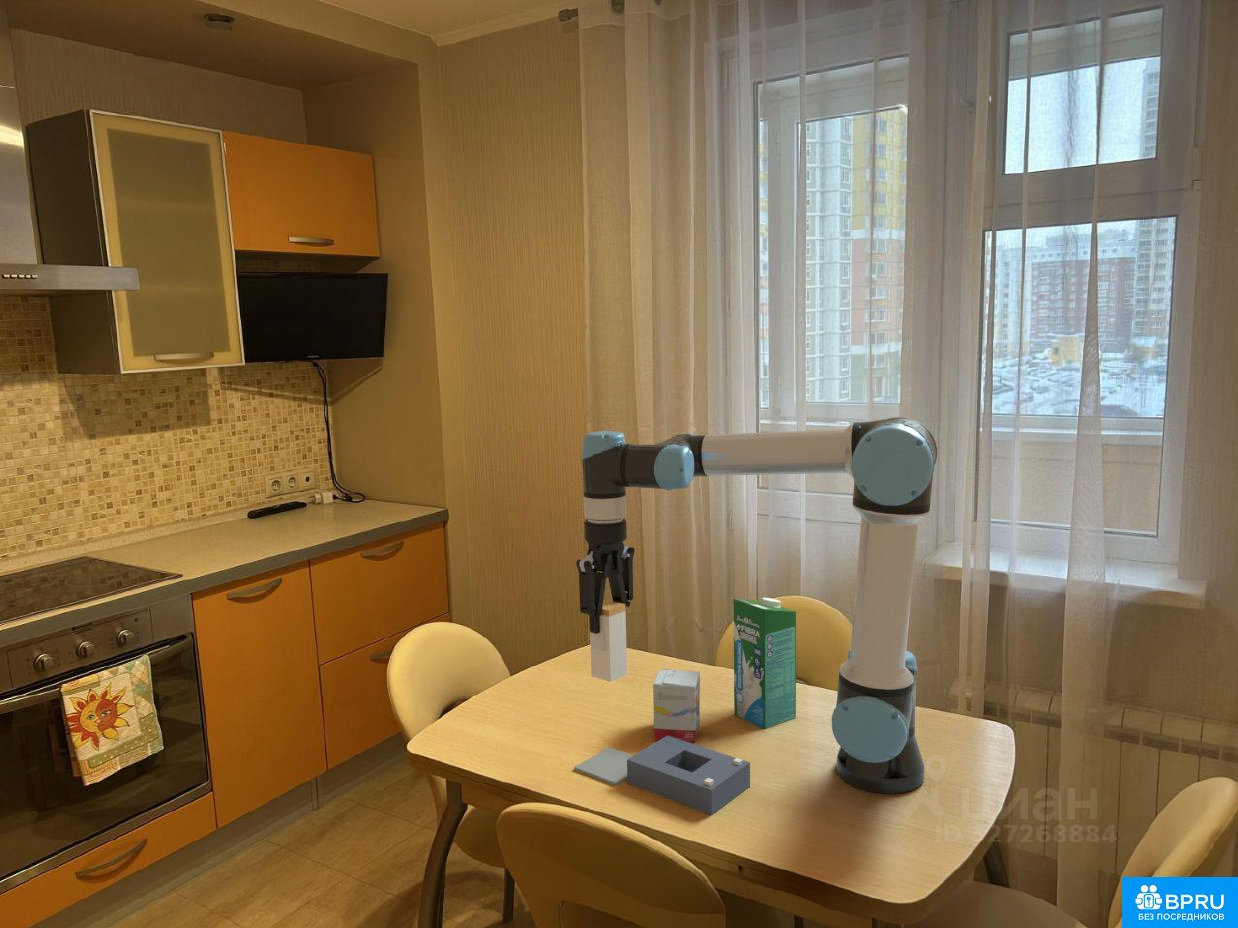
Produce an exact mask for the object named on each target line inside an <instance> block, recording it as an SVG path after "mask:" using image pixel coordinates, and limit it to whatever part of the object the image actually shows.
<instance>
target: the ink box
mask: <svg viewBox="0 0 1238 928" xmlns="http://www.w3.org/2000/svg"><path fill="white" fill-rule="evenodd" d="M700 674H701V672H700V671H696V670H695V671H694V670H680V669H668V668H667V669H665V668H664V669H663V668H659V670H658V671H657V675H656V677H654V678H655V679H654V681H653V683H652V689H653V690H652V692H653V698H652V699H653V701H652V702H653V704H652V705H653V740H654V741H656V742H657V741H659V740H661V739H662V738H664V737H666V736H670V737H673V738H677V739H680V740H683V741H686V742H689V743H692V744H695V743H696V742H697V737H698V733H699V730H700V727H701V724H700V723H701V722H700V721H701V720H700V719H701V715H700V714H701V711H700V710H701V707H700V706H701V705H700V702H701V701H700V699H701V695H700V694H701V693H700V691H701V689H700V688H701V686H700V685H701V679H700V677H701V675H700Z"/></svg>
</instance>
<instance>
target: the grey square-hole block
mask: <svg viewBox="0 0 1238 928" xmlns="http://www.w3.org/2000/svg"><path fill="white" fill-rule="evenodd" d="M626 782H627V784H629V785H631V786H633V787H636V788H639V789H641V790H645V791H647V792H649V793H652V794H654V795H657V796H660V797H663V798H665V799H668V800H670V801H672V802H676V803H678V804H681V805H682V806H683V805H684V806H687V807H689V808H691V809H694V810H697V811H699V812H701V813H705V814H707V815H709V816H713V815H714V814H716V813H717V812H718V811H720V810H722V809H723V808H724V807H725V806H726V805H728V804H729V803H730V802H732V801H733V800H735V798H737V797H738V796H739V795H740V796H741V794H742V793H744V792H745V791H746V790H748V789H749V788H750V787H751V762H749V761H747V760H744V759H741V758H739V757H734V756H731V755H728V754H725V753H722V752H719V751H716V750H714V749H710V748H707V747H703V746H701V745H697V744H695V743H691V742H686V741H683V740H680V739H677V738H673V737H670V736H666V737H664V738H662V739H661V740H659V741H656V742H655V741H654V743H652V744H650V745H649V746H647V747H645V748H644V749H642V750H640V751H639V752H637V753H636V754H634V755H633V756H632V757H630V758H629V759H627V780H626Z"/></svg>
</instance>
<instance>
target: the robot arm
mask: <svg viewBox="0 0 1238 928" xmlns="http://www.w3.org/2000/svg"><path fill="white" fill-rule="evenodd" d="M581 447H582V449H581V452H582V453H581V462H582V463H581V466H582V482H583V483H582V484H583V491H582V493H583V517H584V518H585V521H584V522H583V528H584V530H583V532H584V536H583V537H584V540H585V541H586V543H587V544H588V548H587V552H586V556H585V557H584V558H583V559H577V560H576V562H575V563H576V564H575V565H576V567H577V570H578V585H579V586H578V587H579V611H580V613H581V614H584V615H587V616H589V620H588V621H589V633H590V632H591V638H592V649H596V650H600V651H605V650H606V635H605V615H602V607H603V601H604V600H605V598H604V597H605V589H606V581H607V579H608V583H609V588H610V593H611V597H612V601H613V602H618V603H622V604H625V608H629V607H630V606H631V602H630V601H632V600H633V599H634V569H633V568H634V567H633V566H634V565H633V564H634V562H633V561H634V554H635V548H634V547H632V546H626V545H625V544H624V542H625V541H626V540H627V537H628V536H627V535H628V533H627V532H628V531H627V520H626V519H625V518H626V517H627V515H628V514H627V495H626V494H627V492H626V491H627V490H626V489H627V488H641V489H642V488H643V489H657V490H658V489H659V490H666V491H672V490H685V489H687V488H688V487H690V485H691V483H692V481H693V479H694V477H711V476H712V477H714V476H717V477H718V476H751V475H753V476H754V475H755V476H756V475H757V476H758V475H759V476H760V475H761V476H763V475H799V474H800V475H801V474H802V475H803V474H805V475H806V474H810V475H811V474H848V475H850V476H851V478H853V492H852V493H853V495H852V507H853V509H855V511H856V512H857V513H858V514H859V515H860V517H861V520H860V528H859V530H860V531H859V543H858V544H859V545H858V557H857V566H856V567H857V569H856V579H855V580H856V581H855V594H854V605H853V615H852V617H853V618H852V628H851V629H852V631H851V640H850V641H851V642H850V650H849V651H848V654H847V660H846V661H844V662H843V663H841V664H840V666H839V671H838V673H839V674H838V680H837V681H838V683H837V684H838V685H837V695H836V696H837V697H836V704H835V708H834V710H833V712H832V715H831V732H832V734H833V736H834V739H835V741H836V742H837V744H838V745H839V746H840V747H839V750H838V752H837V756H836V772H837V775H838V776H839V777H840V778H841V779H842V780H843V781H845V782H846V783H848V784H849V785H851V786H853V787H855V788H858V789H860V790H864V791H869V792H873V793H878V794H899V793H900V794H901V793H907V792H911V791H913V790H915V789H917V788H918V787H920V786H921V785H923V783H924V781H925V763H924V760H923V757H922V753H921V751H920V748H919V745H918V741H917V739H916V738H917V737H916V735H915V734H916V701H917V700H916V697H917V693H916V692H917V690H916V689H917V672H918V667H917V659H916V656H915V655H914V654H913V653H912V652H910V651H908V650H907V649H908V648H907V647H908V636H909V635H908V634H909V624H910V615H911V614H910V613H911V605H912V603H911V602H912V596H913V595H912V592H913V583H914V582H913V581H914V569H915V559H916V549H917V541H918V538H917V537H918V529H919V522H920V521H921V520H923V518H925V517H926V516H927V515H929V514H930V512H931V511H930V508H931V500H932V489H933V479H934V472H935V471H934V470H935V466H936V463H937V459H938V458H937V457H938V447H937V443H936V440H935V437H934V436H933V433H932V432H931V431H930V429H928V428H927V426H925V425H924V424H923V423H921V422H919V421H918V420H917V419H913V418H909V417H904V416H903V417H902V416H895V417H890V418H889V417H888V418H885V419H880V420H873V421H872V420H871V421H861V422H860V421H859V422H851V423H850V424H849V425H848V426H847V428H838V429H815V430H794V431H793V430H791V431H789V430H788V431H773V432H772V431H770V432H749V433H748V432H743V433H724V434H721V433H720V434H719V433H718V434H706V435H705V434H704V435H703V434H702V435H694V434H692V433H681V434H676V435H675V436H672V437H671V438H668V439H666V440H663V441H661V442H658V443H655V444H633V443H626V439H625V435H624V433H623V432H621V431H613V430H604V431H603V430H601V431H600V430H599V431H592V432H587V433H586V434H584V436H583V437H582V446H581ZM595 608H596V609H595Z"/></svg>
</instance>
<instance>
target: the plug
mask: <svg viewBox="0 0 1238 928" xmlns="http://www.w3.org/2000/svg"><path fill="white" fill-rule="evenodd" d="M595 609H596V608H595ZM602 615H605V635H606V650H605V651H600V650H596V649H592V638H591V632H590V631H589V638H590V639H589V640H590V642H589V644H590V645H589V646H590V668H591V669H590V671H591V672H590V673H591V677H593V678H596V679H600V680H602V681H607V682H610V683H612V682H614V681H616V680H618V679H620V678H622V677H624V676H626V675H628V658H627V651H628V650H627V623H626V621H627V620H626V619H627V617H626V607H625V604H622V603H618V602H613V600H608V599H603V607H602Z"/></svg>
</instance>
